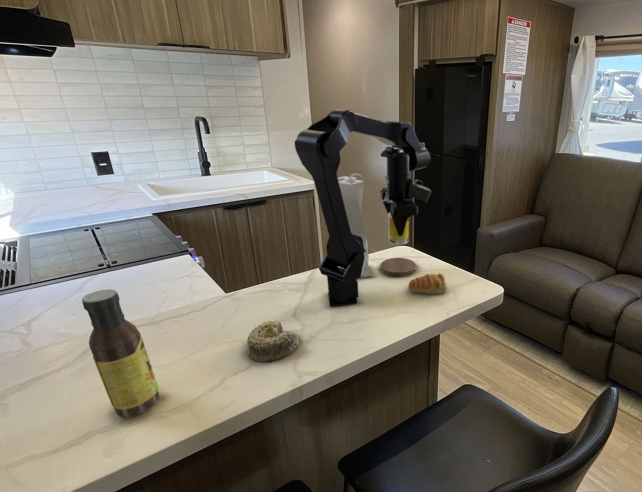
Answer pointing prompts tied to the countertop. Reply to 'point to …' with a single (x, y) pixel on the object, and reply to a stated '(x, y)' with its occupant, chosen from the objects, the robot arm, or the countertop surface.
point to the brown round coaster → (398, 267)
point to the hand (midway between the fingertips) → (398, 231)
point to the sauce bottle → (120, 356)
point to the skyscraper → (355, 213)
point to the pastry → (428, 284)
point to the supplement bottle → (393, 234)
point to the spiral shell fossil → (270, 342)
